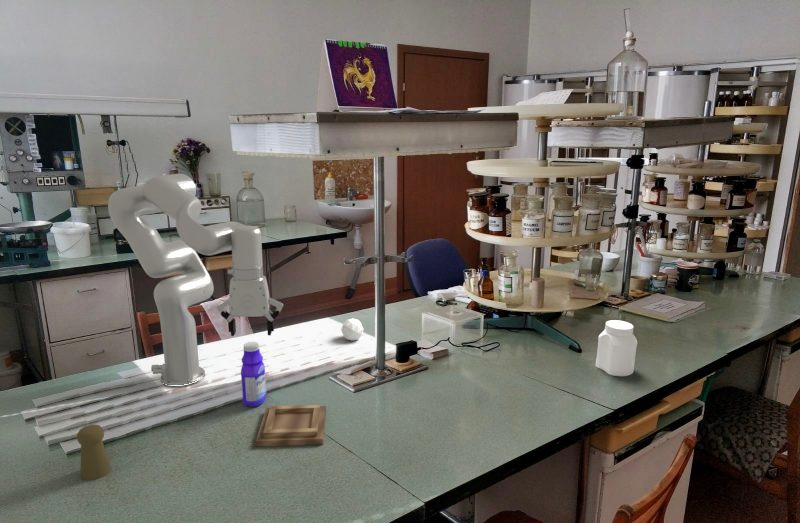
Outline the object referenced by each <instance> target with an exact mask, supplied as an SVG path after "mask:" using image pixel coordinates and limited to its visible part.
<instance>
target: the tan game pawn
mask: <svg viewBox="0 0 800 523" xmlns="http://www.w3.org/2000/svg"><path fill="white" fill-rule="evenodd" d="M104 436H105V431H104V429H103V427H102V426H101V425H100V424H88V425H86V426H84V427H82V428H80V429H79V430H78V431H77V434H76V438H77V442H78V444H79V445H80V478H81V479H82V480H84V481H96V480H99V479H101V478H103V477H105V476H106V475H108V474H109V473H110V471H111V469H112V467H111V465H110V461H109V458H108V455H107V452H106V448H105V445H104V442H103V439H104Z"/></svg>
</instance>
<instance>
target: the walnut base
mask: <svg viewBox="0 0 800 523" xmlns="http://www.w3.org/2000/svg"><path fill="white" fill-rule="evenodd" d="M326 414H327V406H326V405H320V404H308V405H305V404H304V405H303V404H302V405H301V404H300V405H299V404H298V405H271V406H269V407H265V411H264V413H263V417H262V419H261V423H260V426H259V430H258V433H257V437H256V440H255V445H256V447H279V446H281V447H283V446H285V447H286V446H306V445H305V444H317V445H323V444H324V439H323V438H324V437H325V428H326V427H325V426H326Z"/></svg>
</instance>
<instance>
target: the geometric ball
mask: <svg viewBox="0 0 800 523" xmlns="http://www.w3.org/2000/svg"><path fill="white" fill-rule="evenodd" d="M364 330H365V329H364V327H363V325H362V322H361V321H360V320H359V319H356V318H353V317H352V318H349V319H346V320H345V321H344V322H343V324H342V326H341V333H342V335H343V337H344V338H345V340H348V341H352V342H353V341H357V340H359V339H360V338H361V337H362V335H363V332H364Z"/></svg>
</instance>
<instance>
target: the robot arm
mask: <svg viewBox="0 0 800 523" xmlns="http://www.w3.org/2000/svg"><path fill="white" fill-rule="evenodd" d="M196 194H197V187H196V182H194V180H193V179H192V178H191V177H190V176H188V175H186V174H184V173H171V174H164V175H163V174H162V175H155V176H152V177H150V178H148V179H147V180H146V181H145V182H144V184H143V185H137V186H130V187H128V186H127V187H124V188H119V189H118V190H115V191H114V192H113V193H111V195H109V196H110V197H109V198H108V202H107V208H108V214H109V218H110V219H111V221H112V223H113V225H114V227H115V228H116V230H118V231H119V233H120V234H121V235H122V236H123V237H124V239H125V240H126V241H127V243H128V244H129V247H130V248H131V250H132V251H133V254H134V255H135V256H136V257H135V258H136V259H137V260H138V262H139V264H140V265H141V267H142V269H143V271H144V272H145V273H146V275H147V276H149V277H150V278H153V279H159V278H164V277H167V276H170V275H174V274H179V275H174V276H173V277H168V278H166V279H163V280H161V281H160V282H158V283H157V284H156V285H155V288H154V290H153V298H154V302H155V305H156V307H157V311H158V317H159V323H160V329H161V339H162V340H161V341H162V349H163V360H164V363H162V364H151V367H150V370H151V371H150V372H152V374H153V375H158V374H160V383H161V382H162V383H164V384H167V385H184V384H189V383H192V382H195V381H197V380H199V379H201V378H202V377H204V375H205V376H206V371H205V369H204V368H202V367H201V366H200V363H199V362H200V361H199V351H198V339H197V338H198V337H197V336H198V335H197V327H196V326H197V325H196V320H195V318H194V315H193V314H191V312H190V311H189V309H188V307H190V306H193V305H196V304H199V303H200V302H203V301H206V300H208V299H209V298H211V297H212V295H213V293H214V290H215V288H214V282H213V279H212V277H211V275H210V273H209V272H208V270H207V268H206V267H205V265H204V263H203V261H202V259H201V258H200V256H199V254H201V255H204V256H214V255H217V254H221V253H225V252H229V251H231V255H232V267H231V268H227V275H232V278H230V281H229V288H228V289H229V291H228V294H229V295H228V298H227V299H226V300H223V301H222V302H220V303H218V304H216V309H217V311H218V312H219V313H220V316H221V317H222V318H224V319H225V320H226V322H227V323H228V324H227V325H228V333H230V337H234V336H235V335H236V333H237V332H236V331H237V327H236V326H237V325H236V319H235V317H237V318H238V317H239V318H241V317H242V318H243V317H250V318H251V317H253V318H254V317H265V318H266V319H267V321H266V323H267V324H266V327H267V336H271V334H272V332H274V330H275V322H274V320H275V319H276V318H277V317H278V316H279V315H280V313H281V312H282V309H283V308H284V303H282V302H281V301H278V300H276V299H274V298H272V297H270V291H269V285H268V281H267V277H266V276H265V275H264V267H263V266H264V264H263V245H262V231H261V229H260V227H258V226H255V225H248V224H246V225H245V224H243V223H240V222H238V221H226V222H220V223H215V224H210V225H206V226H205V225H203V224H200V223H199V222H198V221H196V220H197V219H198V217H199V216H200V214H201V212H202V203H201V200H200V199H199V198H198V197H197V196H196ZM158 213H164V214H165V215H167V216H168V217H169V218H171V219H172V220H173V221H175V227H176V231H177V233H178V236H179V238H180V239H181V240H173V241H168V242H166V241H164V240H163V238H162V236H161V235H160V233H159V232H158V230H157V229H156V228H155V227H154V226H153V225H152V224H151V223H150V222H148V221H146V220H145V219H143V218H142V217H141V216H145V215H146V216H147V215H152V214H158ZM271 305H272V306H273V307H275V308H276V309H275V310H274V311H273V312H272V311H271V310H270V308H271ZM227 306H228V307H229V310H228V311H227V310H226V309H225V307H227ZM204 378H205V377H204ZM162 383H161V384H162ZM164 384H163V385H164Z"/></svg>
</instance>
